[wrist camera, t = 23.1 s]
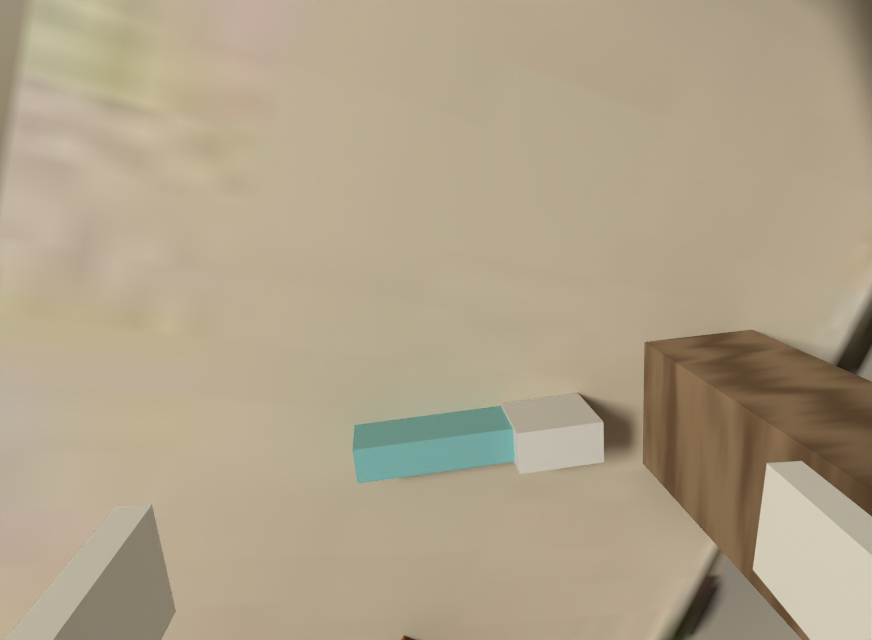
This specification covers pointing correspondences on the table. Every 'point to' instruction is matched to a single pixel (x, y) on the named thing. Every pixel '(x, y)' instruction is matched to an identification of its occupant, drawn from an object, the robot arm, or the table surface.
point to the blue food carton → (406, 638)
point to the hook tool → (482, 439)
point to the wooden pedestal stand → (750, 431)
